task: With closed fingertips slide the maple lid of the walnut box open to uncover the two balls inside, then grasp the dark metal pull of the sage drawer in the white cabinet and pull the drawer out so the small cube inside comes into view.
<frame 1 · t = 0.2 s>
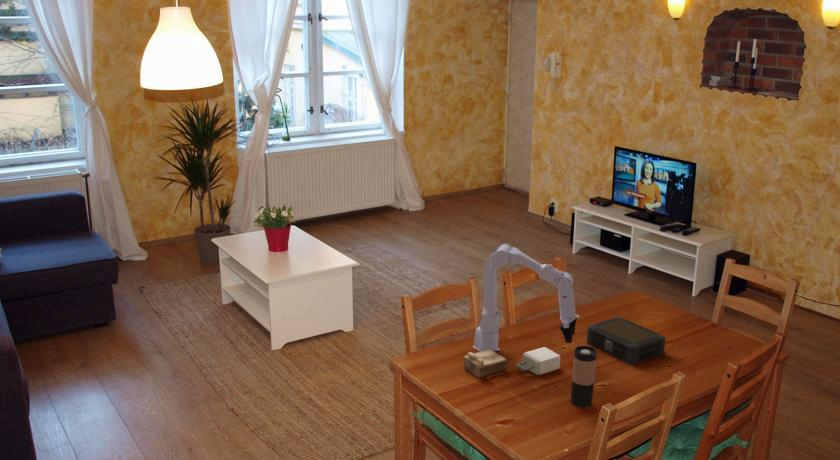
hand: (570, 338, 312), 11 cm above the table, tool pointing down, fingers open, 7 cm apart
travel mug: (581, 403, 286), on the table
walnut box: (484, 370, 308), on the table
cash box: (624, 349, 330), on the table
box lid: (485, 356, 306), point 6 cm above the table, slide at 0.0 cm
drawer: (534, 364, 307), point 3 cm above the table, slide at 0.0 cm, touching small oak cube
pale green ball: (481, 373, 304), resting on walnut box
white cabinet: (541, 369, 309), on the table
ivory ball: (474, 369, 307), resting on walnut box
small oak cube: (536, 368, 308), point 1 cm above the table, touching drawer
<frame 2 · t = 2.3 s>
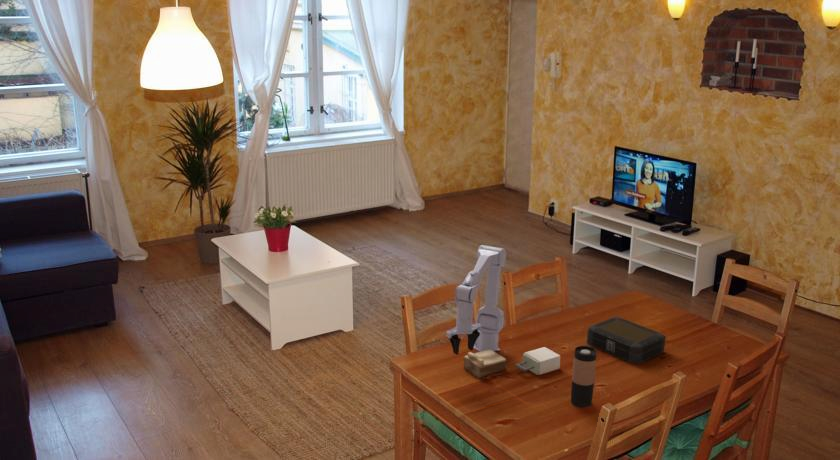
hand: (463, 351, 299), 10 cm above the table, tool pointing down, fingers open, 6 cm apart
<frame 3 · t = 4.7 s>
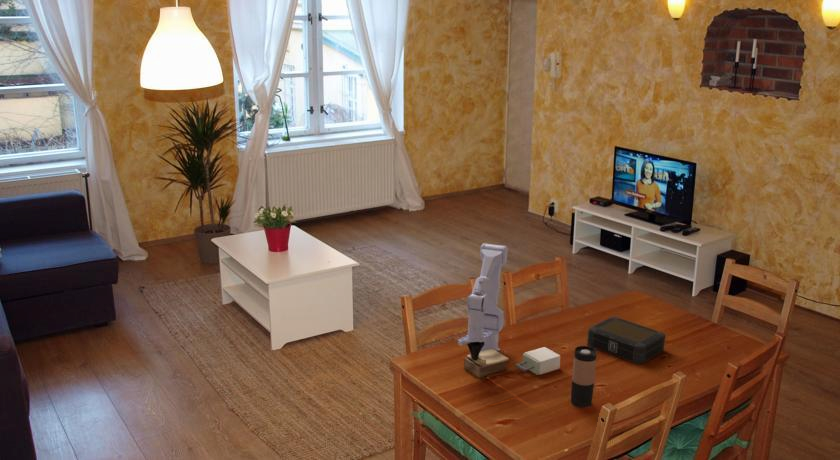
hand: (474, 359, 303), 6 cm above the table, tool pointing down, fingers closed
box lid: (487, 355, 306), point 6 cm above the table, slide at 1.2 cm, touching gripper
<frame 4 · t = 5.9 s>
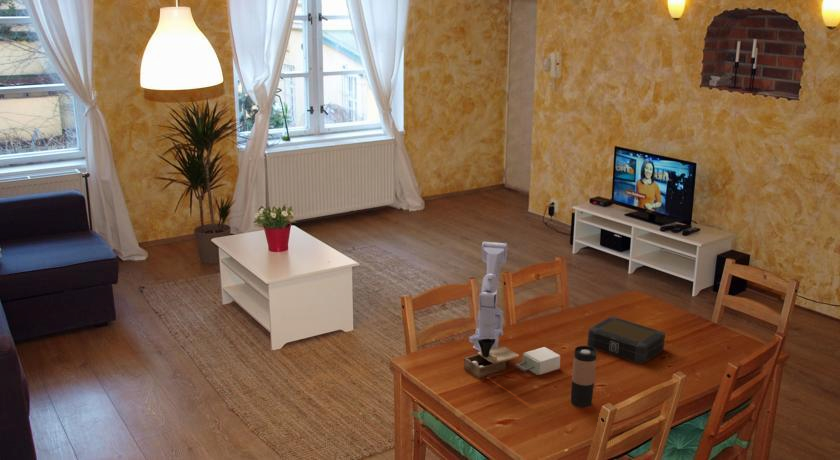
hand: (485, 356, 306), 6 cm above the table, tool pointing down, fingers closed
box lid: (498, 352, 309), point 6 cm above the table, slide at 6.2 cm, touching gripper
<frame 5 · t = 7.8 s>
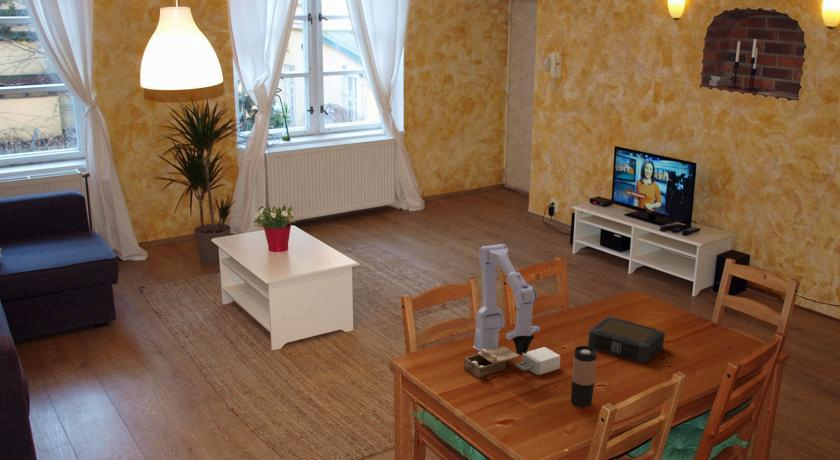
hand: (521, 353, 301), 9 cm above the table, tool pointing down, fingers closed
box lid: (498, 352, 309), point 6 cm above the table, slide at 6.2 cm
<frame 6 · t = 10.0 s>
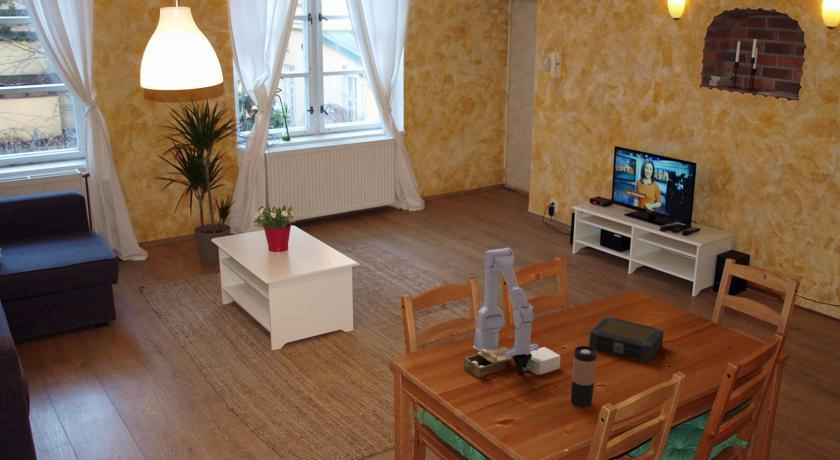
hand: (520, 371, 303), 2 cm above the table, tool pointing down, fingers closed, pressing on drawer
drawer: (534, 364, 307), point 3 cm above the table, slide at 0.0 cm, touching gripper, small oak cube
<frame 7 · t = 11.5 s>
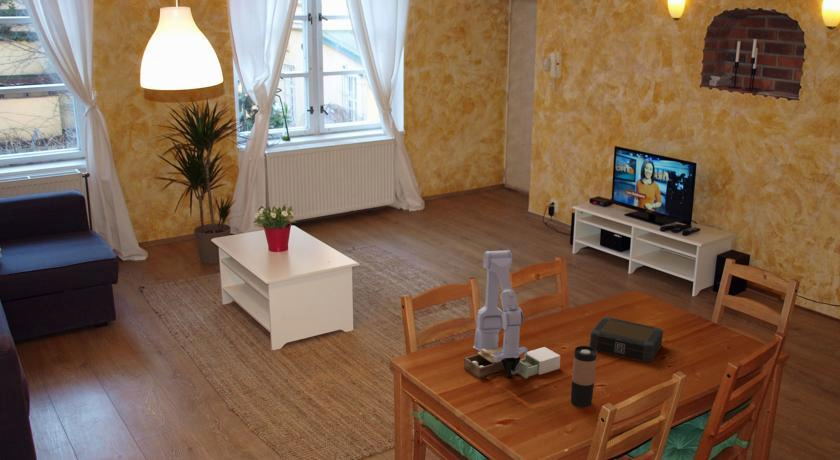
hand: (509, 374, 300), 2 cm above the table, tool pointing down, fingers closed, pressing on drawer
drawer: (523, 367, 304), point 3 cm above the table, slide at 5.4 cm, touching gripper, small oak cube
small oak cube: (525, 371, 305), point 1 cm above the table, touching drawer
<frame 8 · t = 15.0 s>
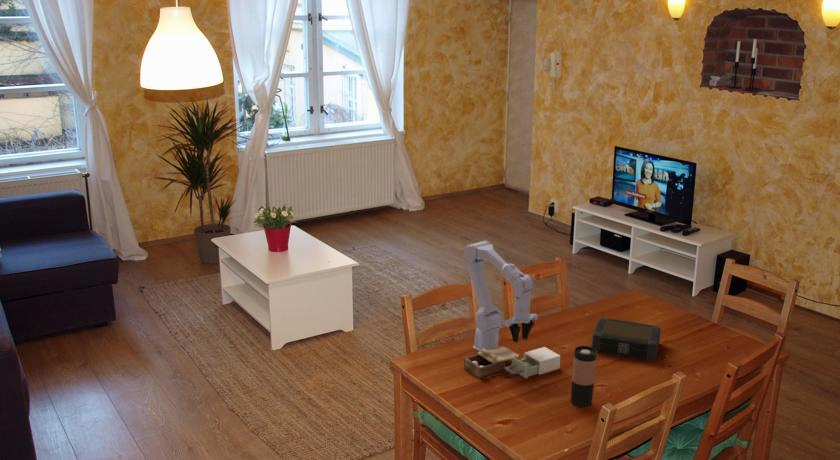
hand: (519, 340, 310), 10 cm above the table, tool pointing down, fingers open, 4 cm apart
drawer: (523, 367, 304), point 3 cm above the table, slide at 5.4 cm, touching small oak cube
at the end: box lid slide at 6.2 cm; drawer slide at 5.4 cm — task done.
